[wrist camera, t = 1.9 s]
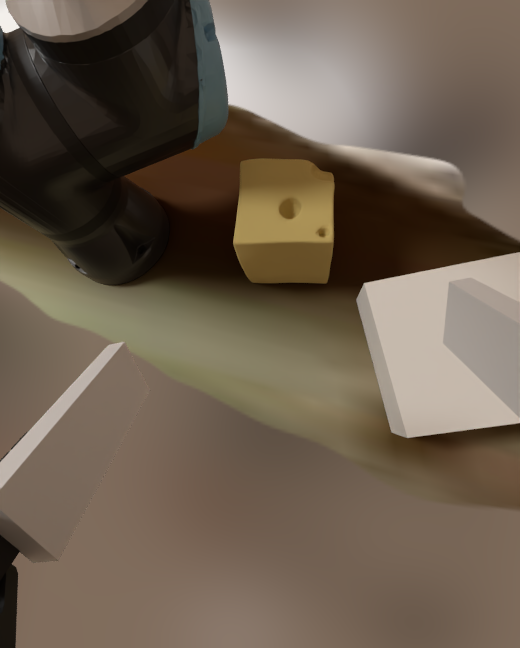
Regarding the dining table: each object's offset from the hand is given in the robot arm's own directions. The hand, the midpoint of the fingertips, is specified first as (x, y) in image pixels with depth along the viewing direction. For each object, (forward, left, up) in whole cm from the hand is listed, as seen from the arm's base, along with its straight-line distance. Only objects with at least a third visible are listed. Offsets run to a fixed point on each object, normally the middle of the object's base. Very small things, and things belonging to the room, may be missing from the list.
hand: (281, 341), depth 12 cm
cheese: (-17, +2, -22) cm, 28 cm away
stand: (-1, +16, -22) cm, 27 cm away
